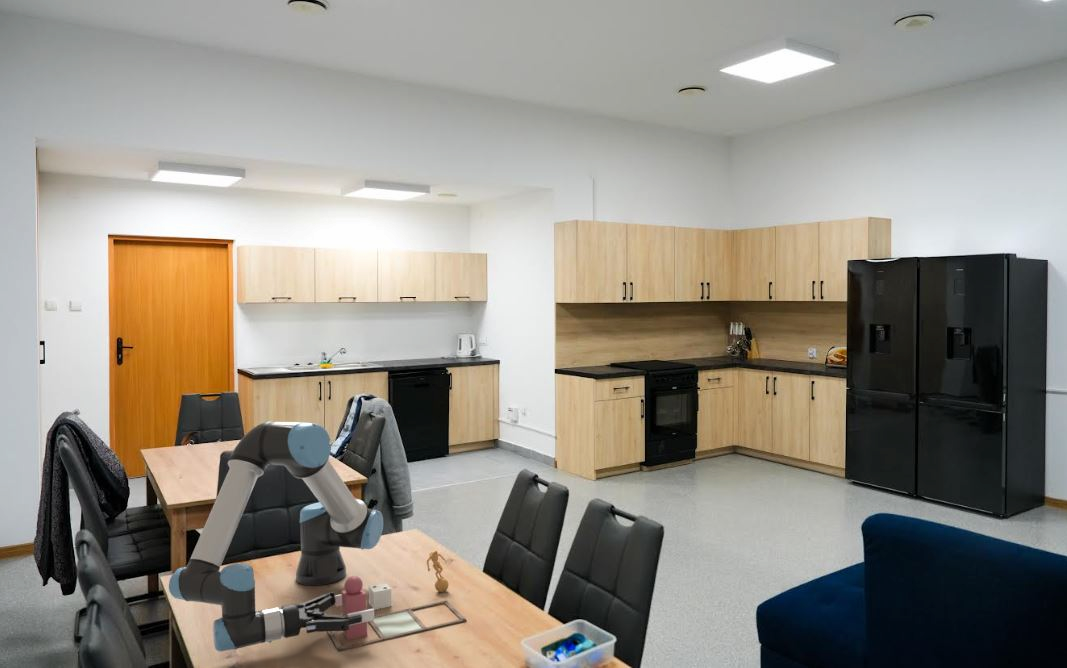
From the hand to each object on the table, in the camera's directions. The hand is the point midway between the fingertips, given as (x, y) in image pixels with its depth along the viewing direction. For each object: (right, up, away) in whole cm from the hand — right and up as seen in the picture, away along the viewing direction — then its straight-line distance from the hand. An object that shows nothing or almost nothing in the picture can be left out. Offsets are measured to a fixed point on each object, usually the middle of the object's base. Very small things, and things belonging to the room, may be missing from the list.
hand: (366, 604), depth 193 cm
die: (0, -6, +17) cm, 18 cm away
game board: (+7, -7, +4) cm, 10 cm away
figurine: (+15, -6, +26) cm, 31 cm away
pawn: (-3, -7, -1) cm, 8 cm away
